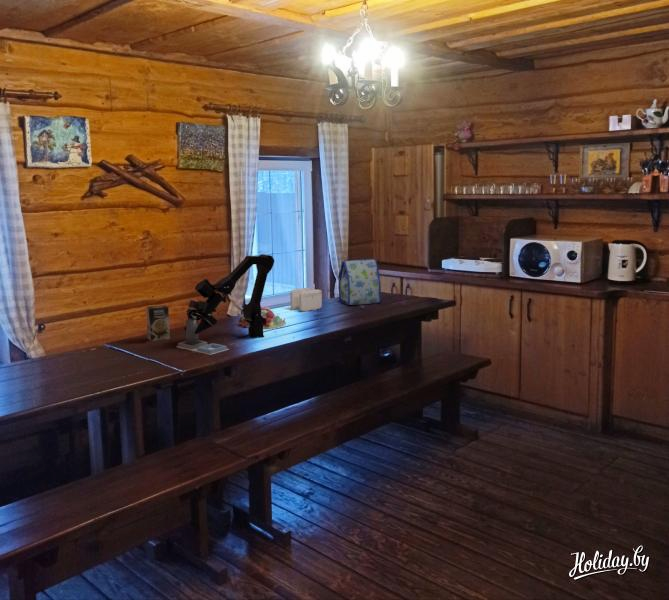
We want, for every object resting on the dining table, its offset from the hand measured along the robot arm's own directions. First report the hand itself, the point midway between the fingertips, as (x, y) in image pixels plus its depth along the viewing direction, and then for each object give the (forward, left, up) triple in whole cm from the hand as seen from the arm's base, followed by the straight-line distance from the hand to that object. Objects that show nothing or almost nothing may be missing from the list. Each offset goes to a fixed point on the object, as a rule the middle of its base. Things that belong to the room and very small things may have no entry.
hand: (190, 331), depth 300 cm
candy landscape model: (-37, -42, -8) cm, 57 cm away
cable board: (-5, +5, -7) cm, 10 cm away
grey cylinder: (-1, 0, -6) cm, 7 cm away
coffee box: (+14, -19, -8) cm, 25 cm away
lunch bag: (-100, -83, -8) cm, 130 cm away
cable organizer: (-66, -72, -8) cm, 98 cm away
